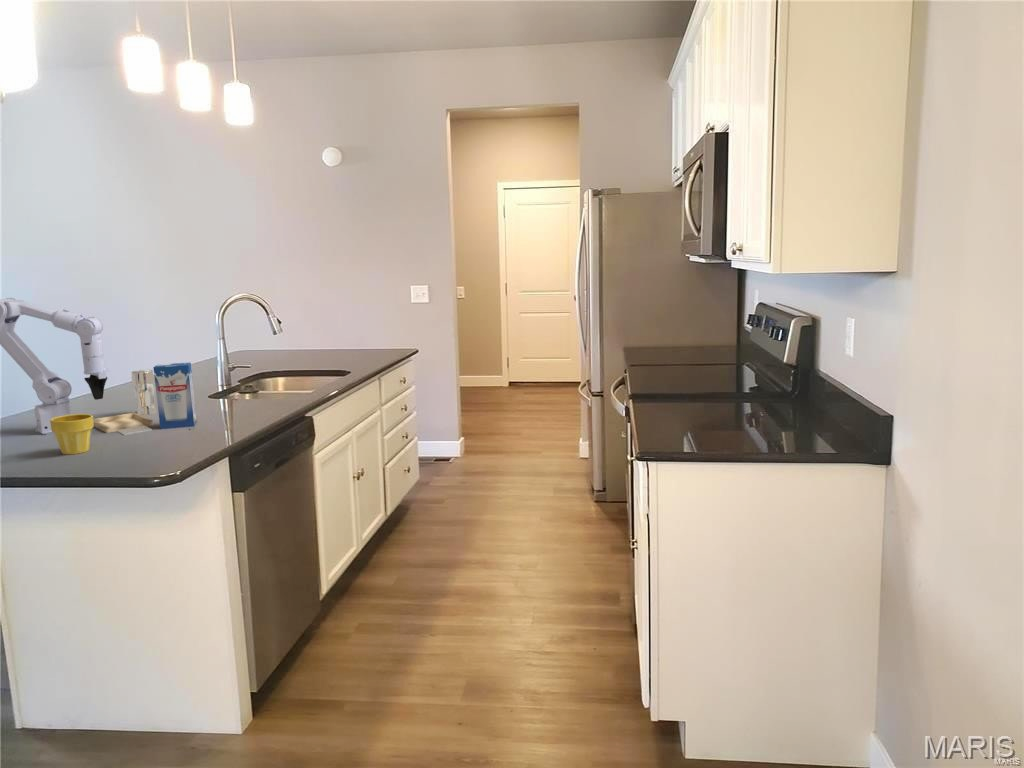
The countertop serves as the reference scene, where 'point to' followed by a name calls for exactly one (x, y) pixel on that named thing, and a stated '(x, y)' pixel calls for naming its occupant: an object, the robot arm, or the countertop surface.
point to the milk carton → (175, 395)
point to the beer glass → (144, 391)
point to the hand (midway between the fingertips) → (98, 399)
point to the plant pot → (73, 432)
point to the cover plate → (134, 430)
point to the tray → (121, 422)
